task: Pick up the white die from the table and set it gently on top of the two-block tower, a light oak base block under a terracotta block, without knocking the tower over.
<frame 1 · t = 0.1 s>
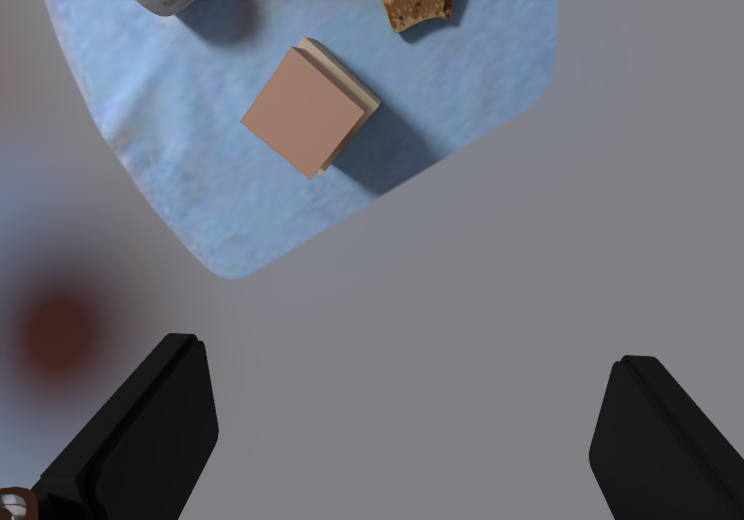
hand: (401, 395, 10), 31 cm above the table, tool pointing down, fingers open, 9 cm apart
tower base: (324, 104, 38), on the table, touching tower top
tower top: (312, 111, 33), point 5 cm above the table, touching tower base
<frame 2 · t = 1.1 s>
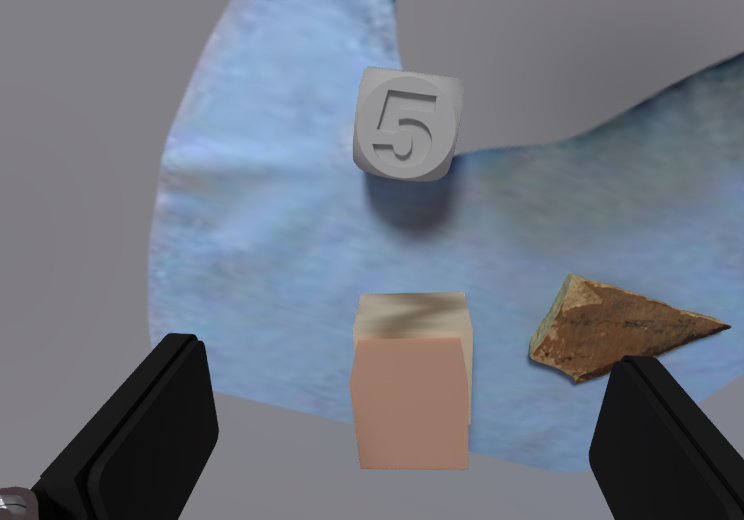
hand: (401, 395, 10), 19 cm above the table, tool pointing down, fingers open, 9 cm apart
tower base: (413, 335, 32), on the table, touching tower top
die: (407, 117, 26), on the table
shard: (607, 306, 30), on the table
tower top: (411, 379, 27), point 5 cm above the table, touching tower base
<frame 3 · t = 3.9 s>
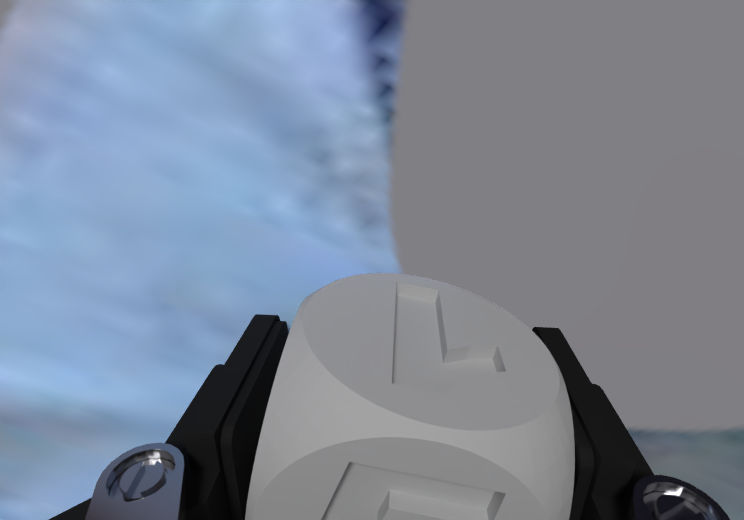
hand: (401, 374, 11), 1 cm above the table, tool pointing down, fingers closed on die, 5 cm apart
die: (401, 355, 12), on the table, touching gripper
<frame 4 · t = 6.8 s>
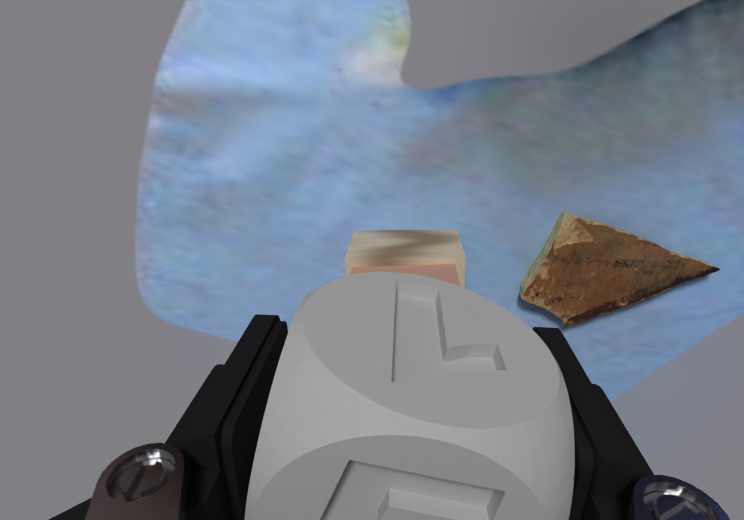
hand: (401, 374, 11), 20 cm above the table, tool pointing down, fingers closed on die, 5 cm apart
tower base: (405, 275, 32), on the table, touching tower top
die: (401, 354, 12), point 19 cm above the table, touching gripper
shard: (598, 249, 31), on the table
tower top: (405, 310, 27), point 5 cm above the table, touching tower base
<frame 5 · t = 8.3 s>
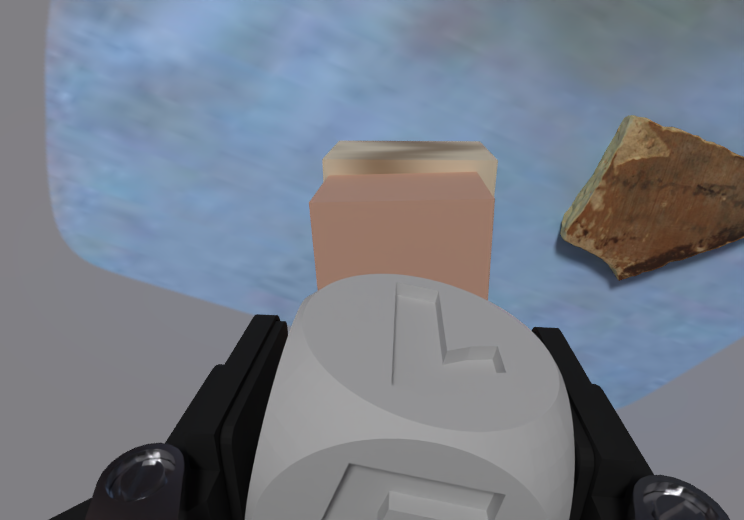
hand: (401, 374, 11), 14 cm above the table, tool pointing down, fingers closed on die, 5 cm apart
tower base: (406, 207, 24), on the table, touching tower top
die: (401, 355, 12), point 13 cm above the table, touching gripper
shard: (668, 175, 23), on the table
tower top: (402, 242, 19), point 5 cm above the table, touching tower base
when the fingers open (11 cm above the table, at t = 9.6 s): die drops 1 cm, resting on tower top.
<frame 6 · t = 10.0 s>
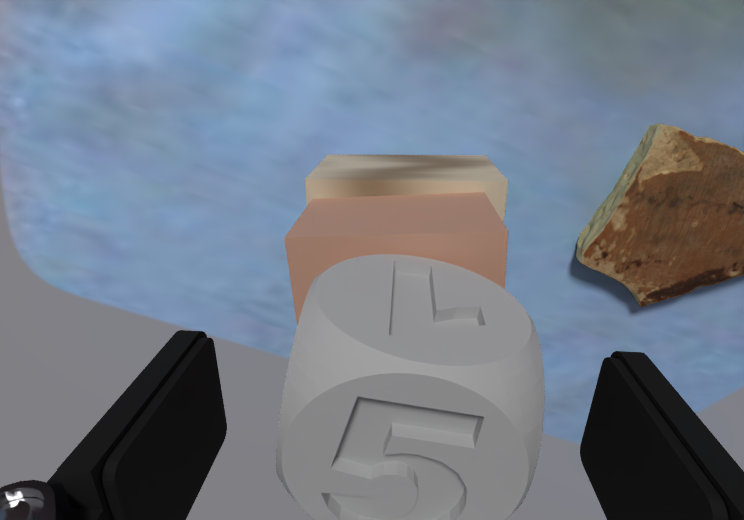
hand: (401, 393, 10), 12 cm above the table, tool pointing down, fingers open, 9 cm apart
tower base: (404, 228, 21), on the table, touching tower top
die: (404, 328, 13), point 9 cm above the table, touching tower top
shard: (697, 190, 20), on the table
tower top: (400, 272, 17), point 5 cm above the table, touching die, tower base
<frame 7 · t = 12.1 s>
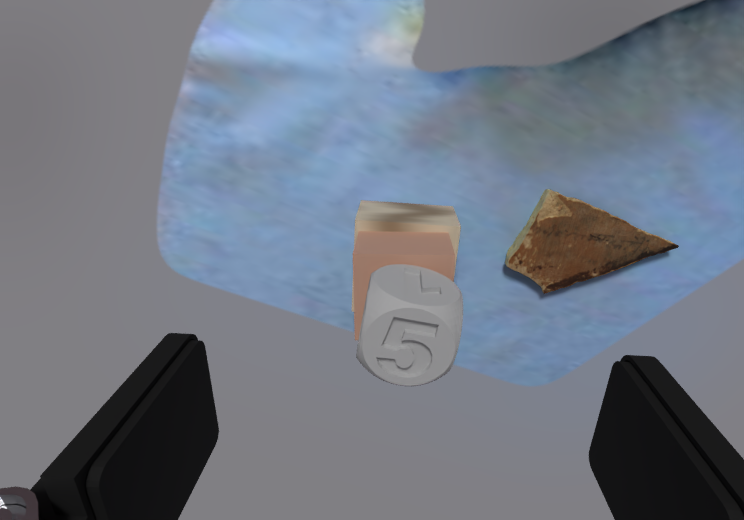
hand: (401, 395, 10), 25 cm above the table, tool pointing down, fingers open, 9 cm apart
tower base: (403, 245, 35), on the table, touching tower top
die: (406, 299, 27), point 9 cm above the table, touching tower top
shard: (576, 225, 34), on the table
tower top: (402, 272, 31), point 5 cm above the table, touching die, tower base
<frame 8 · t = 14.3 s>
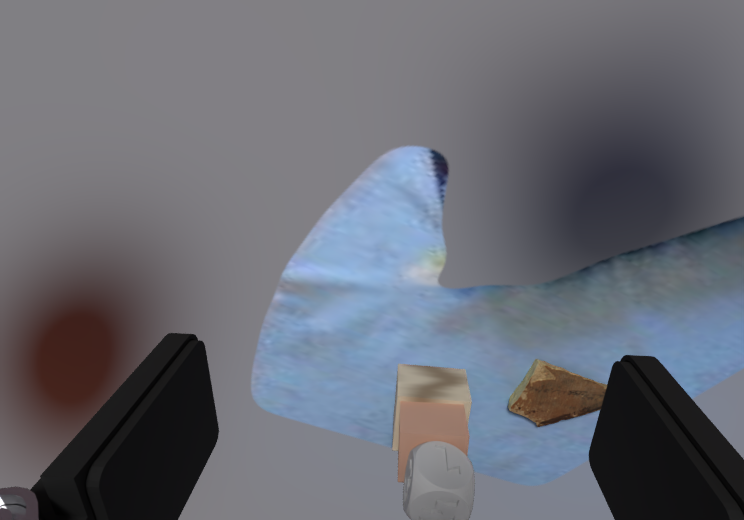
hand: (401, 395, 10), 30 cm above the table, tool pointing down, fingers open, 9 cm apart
tower base: (428, 392, 48), on the table, touching tower top
die: (435, 459, 40), point 9 cm above the table, touching tower top
shard: (560, 378, 47), on the table
tower top: (430, 426, 43), point 5 cm above the table, touching die, tower base
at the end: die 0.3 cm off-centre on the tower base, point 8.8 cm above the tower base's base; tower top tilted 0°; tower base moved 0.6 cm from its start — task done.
